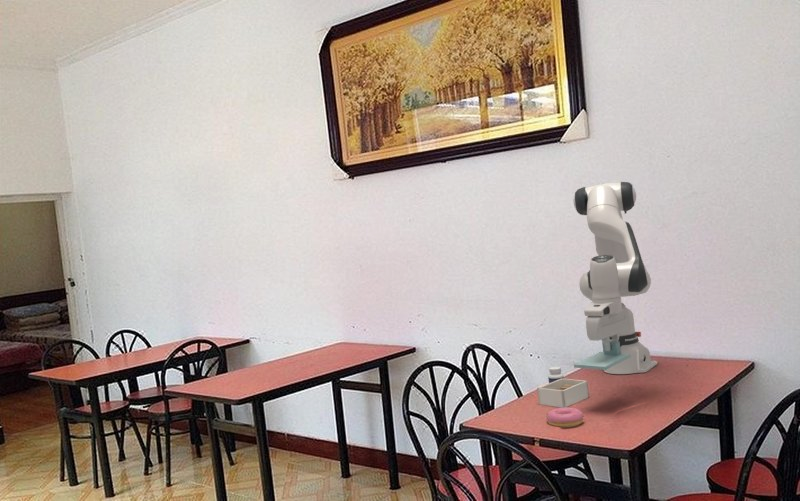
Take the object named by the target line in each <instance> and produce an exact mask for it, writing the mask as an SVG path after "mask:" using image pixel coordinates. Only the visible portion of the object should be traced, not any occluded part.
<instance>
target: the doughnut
mask: <svg viewBox="0 0 800 501" xmlns="http://www.w3.org/2000/svg"><path fill="white" fill-rule="evenodd" d="M584 417H585V416H584V413H583V411H581V409H579V408H576V407H570V406H568V407H563V408H562V407H556V408H553V409H550V410H549V411H548V413H546V420H547V423H548V424H549V425H550V426H554V427H558V428H560V429H562V428H563V429H565V428H566V429H567V428H574V427H577V426H579V425H580V424H582V423H583V421H584Z"/></svg>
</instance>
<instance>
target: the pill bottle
mask: <svg viewBox="0 0 800 501" xmlns="http://www.w3.org/2000/svg"><path fill="white" fill-rule="evenodd" d="M548 371H549V374H548V375H547V378H548V384H549V383H552V382H554V381H557V380H559V379H562V378H563V379H565V378H564V374H563V373H562V368H561V367H560V366H552V367H549V368H548Z"/></svg>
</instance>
